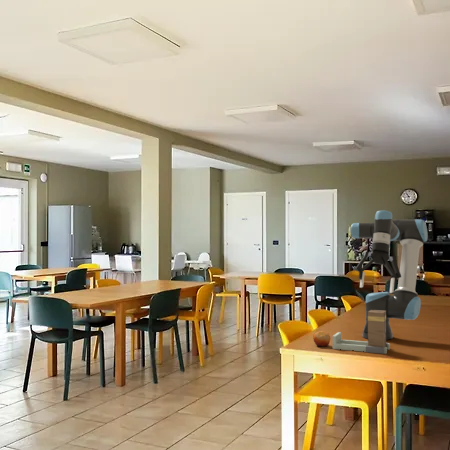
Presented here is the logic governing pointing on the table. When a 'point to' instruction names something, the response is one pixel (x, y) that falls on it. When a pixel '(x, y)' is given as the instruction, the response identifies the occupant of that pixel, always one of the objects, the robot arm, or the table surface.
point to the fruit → (321, 338)
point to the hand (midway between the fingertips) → (376, 290)
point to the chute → (357, 345)
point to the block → (377, 328)
